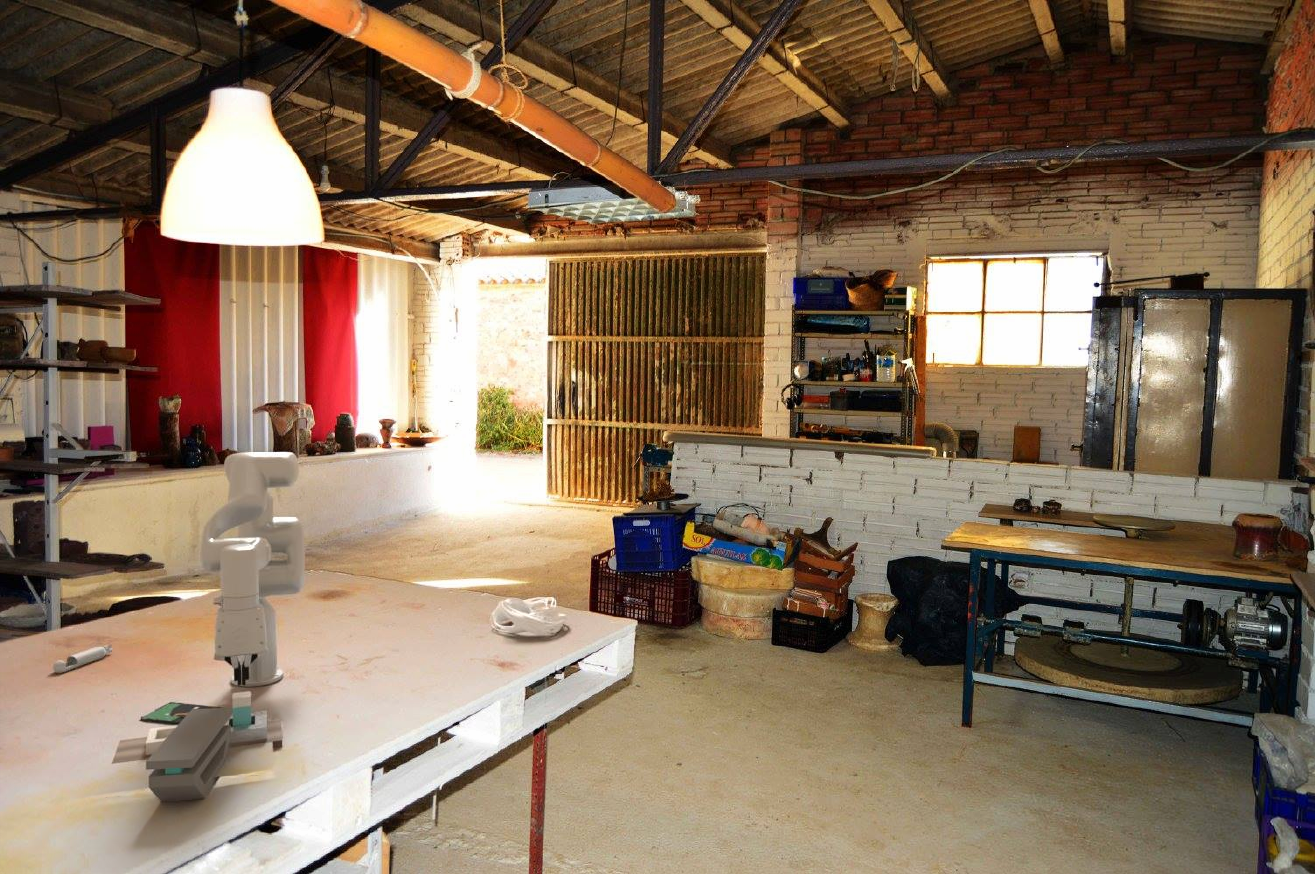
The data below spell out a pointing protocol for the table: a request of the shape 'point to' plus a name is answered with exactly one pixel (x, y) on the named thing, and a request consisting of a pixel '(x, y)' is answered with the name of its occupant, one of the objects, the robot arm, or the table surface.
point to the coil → (528, 616)
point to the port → (249, 729)
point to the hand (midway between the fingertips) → (241, 683)
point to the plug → (241, 708)
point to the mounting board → (137, 751)
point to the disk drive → (172, 713)
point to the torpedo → (82, 658)
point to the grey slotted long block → (191, 756)
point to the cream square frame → (157, 738)
